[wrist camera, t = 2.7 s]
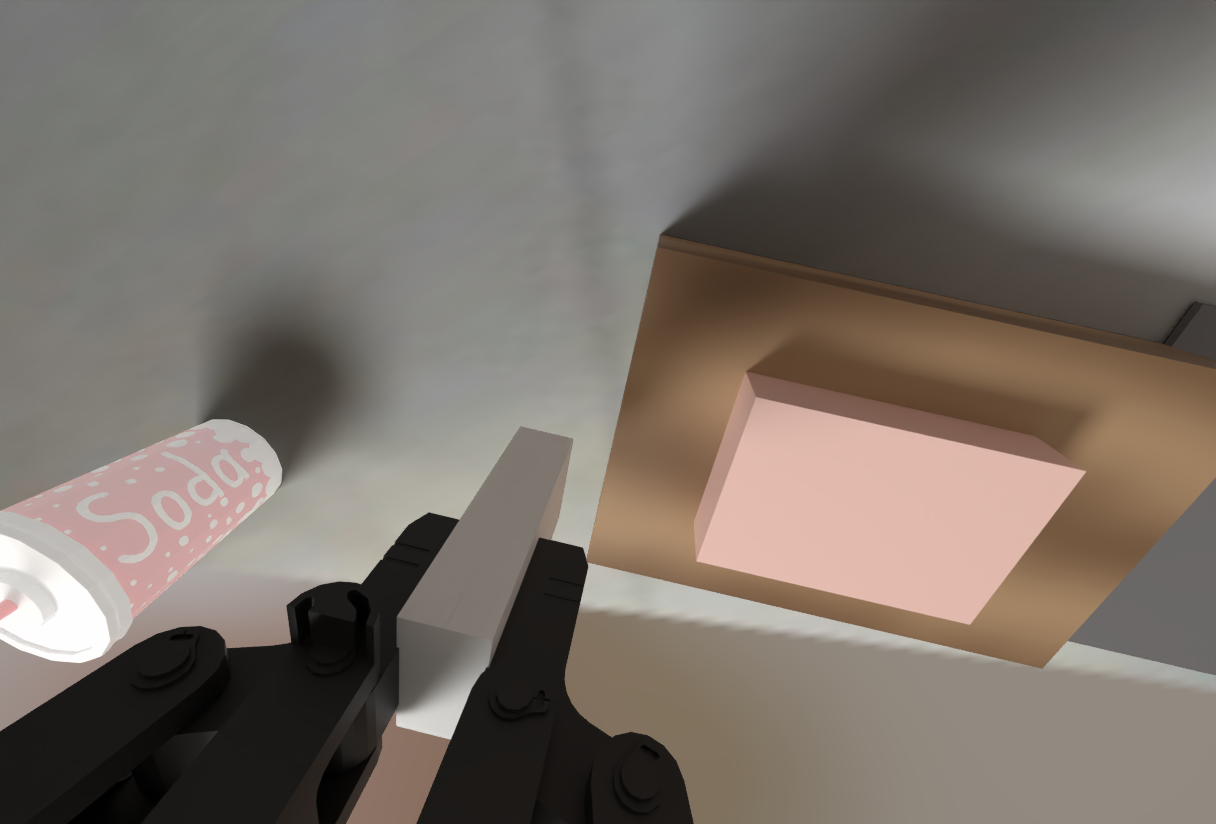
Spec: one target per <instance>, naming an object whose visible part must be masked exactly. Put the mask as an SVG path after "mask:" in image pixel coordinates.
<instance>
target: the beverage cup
mask: <svg viewBox="0 0 1216 824" xmlns="http://www.w3.org/2000/svg"><path fill="white" fill-rule="evenodd" d="M281 482H282V467H281V465H280V462H279V460H278V457H277V455H276V453H275V451H274V450H273V449H272V448H271V446H270V445H269V444H268V443H267V441H266V440H265V439H264V438H263V437H262V436H260V435H259V434H257V433H256V432H255V431H253V430H252V429H250V428H249V427H248V426H245V425H243V424H240V423H237V422H234V421H231V420H223V419H212V420H210V421H207V422H205V423H203V424H200V425H198V426H196V427H193V428H191V429H189V430H186V431H184V432H182V433H180V434H177V435H175V436H173V437H170V438H168V439H166V440H163V441H161V442H159V443H156V444H154V445H152V446H149V447H147V448H145V449H142V450H140V451H138V452H136V453H133V454H131V455H129V456H126V457H124V458H122V459H119V460H117V461H115V462H112V463H110V464H108V465H105V466H103V467H101V468H98V469H96V470H94V471H92V472H89V473H87V474H85V475H82V476H80V477H78V478H75V479H73V480H71V481H68V482H66V483H64V484H61V485H59V486H57V487H54V488H52V489H50V490H48V491H45V492H43V493H41V494H38V495H36V496H34V497H31V498H29V499H27V500H24V501H22V502H20V503H17V504H15V505H13V506H10V507H8V508H6V509H4V510H1V511H0V639H1V640H3V641H5V642H7V643H9V644H10V645H12V646H14V647H16V648H18V649H19V650H22V651H25V652H28V653H32V654H35V655H37V656H40V657H43V658H46V659H49V660H52V661H64V662H76V663H82V662H85V661H88V660H91V659H94V658H97V657H100V656H102V655H103V654H104V653H106V652H107V651H108V650H109V649H110V648H111V646H112V644H113V643H114V642H115V641H117V640H119V639H120V638H122V637H123V636H124V635H125V634H126V632H127V630H128V628H129V627H130V625H131V623H132V622H133V618H134V617H136V616H137V615H138V614H139V613H140V612H141V611H142V610H143V609H145V608H146V607H147V606H148V605H149V604H150V603H151V602H152V601H154V600H155V599H156V598H157V597H158V596H159V595H160V594H161V593H163V592H164V591H165V590H166V589H167V588H168V587H169V586H170V585H171V584H173V583H174V582H175V581H176V580H177V579H178V578H179V577H180V576H182V575H183V574H184V573H185V572H186V571H187V570H188V569H190V568H191V567H192V566H193V565H194V564H195V563H196V562H197V561H198V560H200V559H201V558H202V557H203V556H204V555H205V554H206V553H207V552H209V551H210V550H211V549H212V548H213V547H214V546H215V545H216V544H218V543H219V542H220V541H221V540H222V539H223V538H224V537H225V536H227V535H228V534H229V533H230V532H231V531H232V530H233V529H234V528H236V527H237V526H238V525H239V524H240V523H241V522H242V521H243V520H245V519H246V518H247V517H248V516H249V515H250V514H251V513H252V512H254V511H255V510H256V509H257V508H258V507H259V506H260V505H261V504H262V503H264V502H265V501H266V500H267V499H268V498H269V497H270V496H271V495H273V494H274V493H275V491H276V490H277V488H278V487H279V486H280V484H281Z"/></svg>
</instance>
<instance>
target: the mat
mask: <svg viewBox="0 0 1216 824" xmlns="http://www.w3.org/2000/svg"><path fill="white" fill-rule="evenodd" d="M1164 344H1165V345H1168V346H1171V347H1175V348H1178V349H1181V350H1184V351H1187V352H1190V353H1193V354H1196V355H1199V356H1202V357H1206V358H1209V359H1212V360H1215V361H1216V306H1211V305H1206V304H1202V303H1197V302H1194V304H1193V305H1192V306H1191V308H1190V309H1189V310H1188V312H1187V313H1186V314H1185V316H1184V317H1183V318H1182V320H1181V321H1180V322H1179V324H1178V325H1177V327H1176V328H1175V329H1174V331H1173V332H1172V333H1171V335H1170V336H1169V337H1168V339H1167V340H1166V341H1165V343H1164ZM1068 641H1071V642H1075V643H1079V644H1084V645H1088V646H1092V647H1096V648H1101V649H1105V650H1109V651H1114V652H1118V653H1122V654H1127V655H1131V656H1135V657H1140V658H1144V659H1148V660H1152V661H1157V662H1161V663H1165V664H1170V665H1174V666H1178V667H1183V668H1187V669H1191V670H1196V671H1200V672H1204V673H1208V674H1213V675H1216V478H1215V479H1214V480H1213V481H1212V482H1211V483H1210V484H1209V485H1208V487H1207V488H1206V489H1205V490H1204V491H1203V492H1202V493H1201V494H1200V495H1199V496H1198V498H1197V499H1196V500H1195V501H1194V502H1193V503H1192V504H1191V505H1190V506H1189V507H1188V509H1187V510H1186V511H1185V512H1184V513H1183V514H1182V515H1181V516H1180V517H1179V518H1178V520H1177V521H1176V522H1175V523H1174V524H1173V525H1172V526H1171V527H1170V528H1169V529H1168V531H1167V532H1166V533H1165V534H1164V535H1163V536H1162V537H1161V538H1160V539H1159V540H1158V542H1157V543H1156V544H1155V545H1154V546H1153V547H1152V548H1151V549H1150V550H1149V551H1148V553H1147V554H1146V555H1145V556H1144V557H1143V558H1142V559H1141V560H1140V561H1139V563H1138V564H1137V565H1136V566H1135V567H1134V568H1133V569H1132V570H1131V571H1130V572H1129V574H1128V575H1127V576H1126V577H1125V578H1124V579H1123V580H1122V581H1121V582H1120V583H1119V585H1118V586H1117V587H1116V588H1115V589H1114V590H1113V591H1112V592H1111V593H1110V594H1109V596H1108V597H1107V598H1106V599H1105V600H1104V601H1103V602H1102V603H1101V604H1100V605H1099V607H1098V608H1097V609H1096V610H1095V611H1094V612H1093V613H1092V614H1091V615H1090V616H1089V618H1088V619H1087V620H1086V621H1085V622H1084V623H1083V624H1082V625H1081V626H1080V628H1079V629H1078V630H1077V631H1076V632H1075V633H1074V634H1073V635H1072V636H1071V637H1070V639H1069V640H1068Z"/></svg>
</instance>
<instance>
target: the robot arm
mask: <svg viewBox="0 0 1216 824" xmlns="http://www.w3.org/2000/svg"><path fill="white" fill-rule="evenodd" d="M572 444H573V439H572V438H568V437H564V436H559V435H555V434H551V433H546V432H542V431H538V430H533V429H529V428H525V427H520V428H519V429H518V431H517V432H516V434H515V436H514V437H513V439H512V440H511V442H510V443H509V445H508V446H507V448H506V449H505V451H504V452H503V454H502V456H501V457H500V459H499V460H498V462H497V463H496V465H495V466H494V468H493V469H492V471H491V472H490V474H489V476H488V477H487V479H486V480H485V482H484V483H483V485H482V486H481V488H480V489H479V491H478V493H477V494H476V496H475V497H474V499H473V500H472V502H471V503H470V505H469V506H468V508H467V509H466V511H465V513H464V514H463V516H462V517H461V519H460V520H458V519H454V518H450V517H446V516H442V515H437V514H433V513H427V514H426V515H424V516H422V517H421V518H419V519H417V520H416V521H414V522H412V523H411V524H409V525H408V526H407V527H406V529H405V530H404V531H403V532H402V534H401V535H400V536H399V538H398V539H397V540H396V541H395V544H394V545H392V546H391V548H390V549H389V550H388V551H387V553H386V554H385V555H384V558H383V560H380V561H379V563H378V564H377V565H376V567H375V568H374V569H373V570H372V572H371V573H370V574H369V575H368V577H367V578H366V579H365V580H364V582H363V583H362V584H361V585H360V584H358V583H352V582H334V583H329V584H323V585H319V586H317V587H315V588H313V589H311V590H308V591H306V592H304V593H302V594H300V595H299V596H298V597H297V598H295V599H294V600H293V601H292V602H290V603H289V604H288V605H287V613H288V620H289V627H290V635H291V643H288V644H281V645H275V646H261V647H242V648H226V644H225V640H224V639H223V638H222V637H221V636H220V634H219V633H218V632H217V631H215V630H212V629H208V628H205V627H202V626H195V627H179V628H176V629H172V630H169V631H165V632H162V633H158V634H156V635H154V636H152V637H150V638H148V639H146V640H144V641H143V642H140V643H138V644H136V645H134V646H133V647H131V648H130V649H128V650H127V651H125V652H123V653H122V654H120V655H119V656H117V657H116V658H114V659H112V660H111V661H109V662H108V663H106V664H105V665H103V666H102V667H100V668H99V669H97V670H95V671H94V672H92V673H91V674H89V675H87V676H86V677H84V678H83V679H81V680H80V681H78V682H77V683H75V684H73V685H72V686H70V687H69V688H67V689H66V690H64V691H63V692H61V693H60V694H58V695H56V696H55V697H53V698H52V699H50V700H48V701H47V702H45V703H44V704H42V705H41V706H39V707H38V708H36V709H34V710H33V711H31V712H30V713H28V714H27V715H25V716H24V717H22V718H20V719H19V720H17V721H16V722H14V723H13V724H11V725H9V726H8V727H6V728H5V729H3V730H2V731H0V824H346V822H347V820H348V819H349V817H350V814H351V813H352V811H353V809H354V807H355V805H356V803H357V801H358V799H359V797H360V795H361V793H362V791H363V789H364V787H365V786H366V784H367V782H368V780H369V778H370V776H371V774H372V772H373V770H374V768H375V766H376V764H377V762H378V758H379V756H380V752H381V749H382V734H383V732H384V731H385V729H386V727H387V725H388V723H389V721H390V719H391V717H392V716H393V714H394V712H395V710H396V726H399V727H403V728H407V729H411V730H415V731H419V732H423V733H427V734H431V735H435V736H440V737H443V738H447V739H451V740H450V743H449V745H448V748H447V750H446V753H445V755H444V758H443V760H442V762H441V765H440V767H439V770H438V772H437V775H436V777H435V780H434V782H433V785H432V787H431V790H430V792H429V794H428V797H427V799H426V802H425V804H424V807H423V809H422V812H421V814H420V817H419V819H418V821H417V824H694V823H693V818H692V814H691V809H690V805H689V800H688V796H687V791H686V787H685V782H684V779H683V777H682V774H681V772H680V769H679V767H678V764H677V762H676V760H675V759H674V758H673V757H672V755H671V754H670V753H669V752H668V750H667V749H666V748H665V747H664V745H662V744H660V743H659V742H657V741H656V740H654V739H653V738H651V737H650V736H648V735H643V734H638V733H633V732H629V733H625V734H620V735H615V736H614V737H613V738H612V737H610V736H609V735H607V734H606V733H604V732H603V731H601V730H600V729H598V728H597V727H595V726H594V725H592V724H591V723H589V722H588V721H587V720H586V719H584V718H583V717H582V716H581V715H580V714H579V713H578V712H577V710H576V709H575V708H574V706H573V705H572V703H571V701H570V699H569V697H568V695H567V692H566V686H565V680H564V679H565V668H566V663H567V659H568V655H569V650H570V646H571V641H572V637H573V632H574V628H575V624H576V619H577V615H578V610H579V606H580V601H581V597H582V592H583V588H584V584H585V579H586V575H587V570H588V563H587V560H586V557H585V553H584V550H583V548H582V547H578V546H574V545H569V544H565V543H561V542H557V541H553V540H551V538H552V535H553V532H554V530H555V527H556V524H557V521H558V518H559V513H560V508H561V503H562V497H563V492H564V487H565V481H566V476H567V470H568V465H569V460H570V454H571V449H572Z"/></svg>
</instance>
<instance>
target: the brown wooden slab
mask: <svg viewBox="0 0 1216 824" xmlns="http://www.w3.org/2000/svg"><path fill="white" fill-rule="evenodd" d="M745 372H750V373H755V374H759V375H764V376H768V377H773V378H777V379H781V380H786V381H790V382H795V383H799V384H804V385H808V386H813V387H817V388H822V389H826V390H831V391H835V392H840V393H844V394H849V395H853V396H858V397H862V398H867V399H871V400H876V401H880V402H885V403H889V404H893V405H898V406H902V407H907V408H911V409H916V410H920V411H925V412H929V413H934V414H938V415H943V416H947V417H952V418H956V419H961V420H965V421H970V422H974V423H979V424H983V425H988V426H992V427H996V428H1001V429H1005V430H1010V431H1014V432H1019V433H1023V434H1028V435H1032V436H1036V437H1037V438H1039V439H1040V440H1042V441H1043V442H1045V443H1046V444H1048V445H1049V446H1050V447H1052V448H1053V449H1055V450H1056V451H1058V452H1059V453H1061V454H1062V455H1064V456H1065V457H1066V458H1068V459H1069V460H1071V461H1072V462H1074V463H1075V464H1077V465H1078V466H1080V467H1081V468H1082V469H1084V470H1085V471H1086V473H1085V474H1084V475H1083V477H1082V478H1081V479H1080V481H1079V482H1078V483H1077V485H1076V486H1075V487H1074V488H1073V490H1072V491H1071V492H1070V494H1069V495H1068V496H1067V498H1066V499H1065V500H1064V502H1063V503H1062V504H1061V506H1060V507H1059V508H1058V510H1057V511H1056V512H1055V514H1054V515H1053V516H1052V517H1051V519H1050V520H1049V521H1048V523H1047V524H1046V525H1045V527H1044V528H1043V529H1042V531H1041V532H1040V533H1039V535H1038V536H1037V537H1036V539H1035V540H1034V541H1033V543H1032V544H1031V545H1030V546H1029V548H1028V549H1027V550H1026V552H1025V553H1024V554H1023V556H1022V557H1021V558H1020V560H1019V561H1018V562H1017V564H1016V565H1015V566H1014V568H1013V569H1012V570H1011V572H1010V573H1009V574H1008V575H1007V577H1006V578H1005V579H1004V581H1003V582H1002V583H1001V585H1000V586H999V587H998V589H997V590H996V591H995V593H994V594H993V595H992V597H991V598H990V599H989V601H988V602H987V603H986V604H985V606H984V607H983V608H982V610H981V611H980V612H979V614H978V615H977V616H976V618H975V619H974V620H973V622H972V623H971V624H970V625H968V624H964V623H960V622H955V621H951V620H947V619H942V618H938V617H934V616H930V615H925V614H921V613H917V612H912V611H908V610H904V609H899V608H895V607H891V606H887V605H882V604H878V603H874V602H869V601H865V600H861V599H856V598H852V597H848V596H844V595H839V594H835V593H831V592H826V591H822V590H818V589H813V588H809V587H805V586H800V585H796V584H792V583H788V582H783V581H779V580H775V579H770V578H766V577H762V576H757V575H753V574H749V573H745V572H740V571H736V570H732V569H727V568H723V567H719V566H714V565H710V564H706V563H702V562H697V561H696V549H695V534H694V520H695V517H696V514H697V512H698V509H699V506H700V503H701V500H702V497H703V494H704V491H705V488H706V485H707V482H708V480H709V477H710V474H711V471H712V468H713V465H714V462H715V459H716V456H717V453H718V450H719V448H720V445H721V442H722V439H723V436H724V433H725V430H726V427H727V424H728V421H729V418H730V416H731V413H732V410H733V407H734V404H735V401H736V398H737V395H738V392H739V389H740V386H741V384H742V381H743V378H744V375H745ZM1215 478H1216V361H1215V360H1212V359H1209V358H1206V357H1202V356H1199V355H1196V354H1193V353H1190V352H1187V351H1184V350H1181V349H1178V348H1175V347H1171V346H1168V345H1165V344H1161V343H1157V342H1152V341H1148V340H1143V339H1138V338H1134V337H1129V336H1125V335H1120V334H1116V333H1111V332H1106V331H1102V330H1097V329H1093V328H1088V327H1083V326H1079V325H1074V324H1070V323H1065V322H1060V321H1056V320H1051V319H1047V318H1042V317H1037V316H1033V315H1028V314H1024V313H1019V312H1015V311H1010V310H1005V309H1001V308H996V307H992V306H987V305H982V304H978V303H973V302H969V301H964V300H959V299H955V298H950V297H946V296H941V295H937V294H932V293H927V292H923V291H918V290H914V289H909V288H904V287H900V286H895V285H891V284H886V283H881V282H877V281H872V280H868V279H863V278H858V277H854V276H849V275H845V274H840V273H836V272H831V271H826V270H822V269H817V268H813V267H808V266H803V265H799V264H794V263H790V262H785V261H780V260H776V259H771V258H767V257H762V256H757V255H753V254H748V253H744V252H739V251H735V250H730V249H725V248H721V247H716V246H712V245H707V244H702V243H698V242H693V241H689V240H684V239H679V238H675V237H670V236H666V235H661V234H660V238H659V242H658V246H657V251H656V255H655V259H654V264H653V268H652V273H651V277H650V281H649V286H648V290H647V295H646V299H645V303H644V308H643V312H642V317H641V321H640V325H639V330H638V334H637V339H636V343H635V347H634V352H633V356H632V360H631V365H630V369H629V374H628V378H627V382H626V387H625V391H624V396H623V400H622V404H621V409H620V413H619V418H618V422H617V426H616V431H615V435H614V440H613V444H612V448H611V453H610V457H609V461H608V466H607V470H606V475H605V479H604V483H603V488H602V492H601V497H600V501H599V505H598V510H597V514H596V519H595V523H594V528H593V532H592V537H591V541H590V546H589V550H588V555H587V559H586V560H587V562H588V563H592V564H597V565H601V566H605V567H610V568H614V569H618V570H622V571H627V572H631V573H635V574H640V575H644V576H648V577H652V578H657V579H661V580H665V581H670V582H674V583H678V584H682V585H687V586H691V587H695V588H699V589H704V590H708V591H712V592H717V593H721V594H725V595H729V596H734V597H738V598H742V599H747V600H751V601H755V602H759V603H764V604H768V605H772V606H777V607H781V608H785V609H789V610H794V611H798V612H802V613H806V614H811V615H815V616H819V617H824V618H828V619H832V620H836V621H841V622H845V623H849V624H854V625H858V626H862V627H866V628H871V629H875V630H879V631H883V632H888V633H892V634H896V635H901V636H905V637H909V638H913V639H918V640H922V641H926V642H931V643H935V644H939V645H943V646H948V647H952V648H956V649H961V650H965V651H969V652H973V653H978V654H982V655H986V656H990V657H995V658H999V659H1003V660H1008V661H1012V662H1016V663H1020V664H1025V665H1029V666H1033V667H1038V668H1043V667H1044V666H1045V665H1046V664H1047V663H1048V662H1049V661H1050V659H1051V658H1052V657H1053V656H1054V655H1055V654H1056V653H1057V652H1058V651H1059V650H1060V648H1061V647H1062V646H1063V645H1064V644H1065V643H1066V642H1067V641H1068V640H1069V639H1070V637H1071V636H1072V635H1073V634H1074V633H1075V632H1076V631H1077V630H1078V629H1079V628H1080V626H1081V625H1082V624H1083V623H1084V622H1085V621H1086V620H1087V619H1088V618H1089V616H1090V615H1091V614H1092V613H1093V612H1094V611H1095V610H1096V609H1097V608H1098V607H1099V605H1100V604H1101V603H1102V602H1103V601H1104V600H1105V599H1106V598H1107V597H1108V596H1109V594H1110V593H1111V592H1112V591H1113V590H1114V589H1115V588H1116V587H1117V586H1118V585H1119V583H1120V582H1121V581H1122V580H1123V579H1124V578H1125V577H1126V576H1127V575H1128V574H1129V572H1130V571H1131V570H1132V569H1133V568H1134V567H1135V566H1136V565H1137V564H1138V563H1139V561H1140V560H1141V559H1142V558H1143V557H1144V556H1145V555H1146V554H1147V553H1148V551H1149V550H1150V549H1151V548H1152V547H1153V546H1154V545H1155V544H1156V543H1157V542H1158V540H1159V539H1160V538H1161V537H1162V536H1163V535H1164V534H1165V533H1166V532H1167V531H1168V529H1169V528H1170V527H1171V526H1172V525H1173V524H1174V523H1175V522H1176V521H1177V520H1178V518H1179V517H1180V516H1181V515H1182V514H1183V513H1184V512H1185V511H1186V510H1187V509H1188V507H1189V506H1190V505H1191V504H1192V503H1193V502H1194V501H1195V500H1196V499H1197V498H1198V496H1199V495H1200V494H1201V493H1202V492H1203V491H1204V490H1205V489H1206V488H1207V487H1208V485H1209V484H1210V483H1211V482H1212V481H1213V480H1214V479H1215Z"/></svg>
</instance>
